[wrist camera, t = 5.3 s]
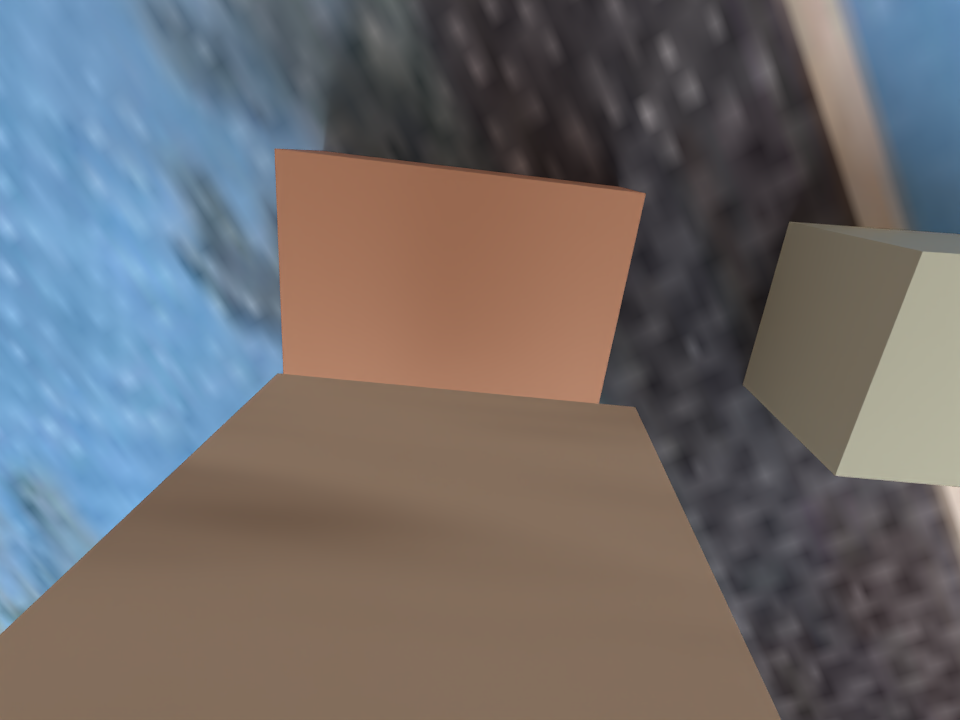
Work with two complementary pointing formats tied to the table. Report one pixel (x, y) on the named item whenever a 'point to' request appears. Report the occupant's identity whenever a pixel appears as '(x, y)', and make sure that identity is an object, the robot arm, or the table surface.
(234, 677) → the maple cube
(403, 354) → the terracotta base block
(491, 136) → the table surface
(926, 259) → the sage green cube
